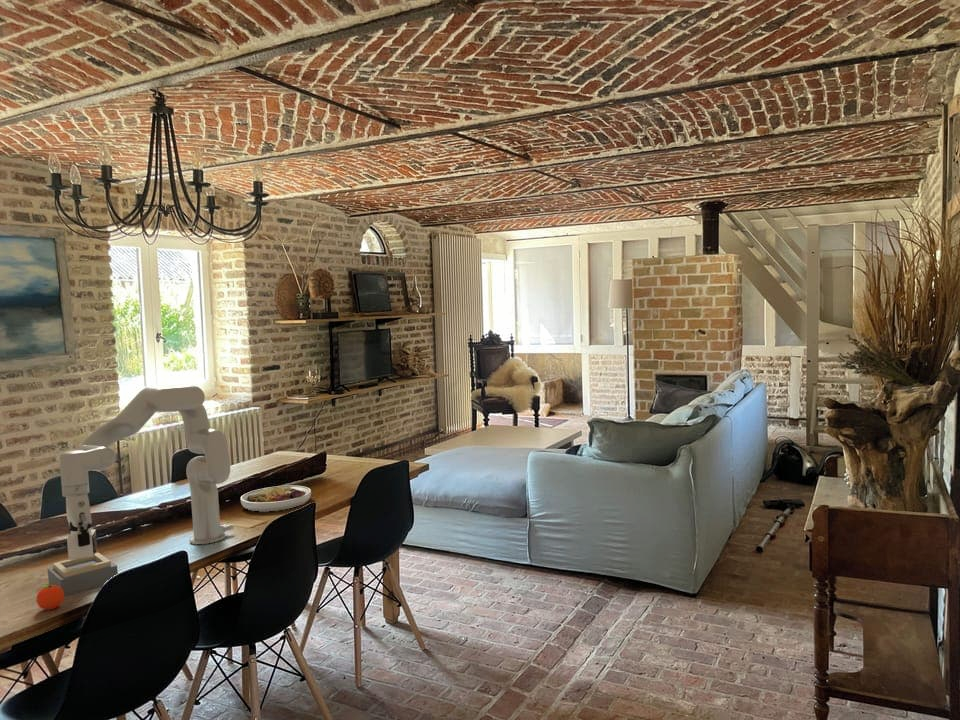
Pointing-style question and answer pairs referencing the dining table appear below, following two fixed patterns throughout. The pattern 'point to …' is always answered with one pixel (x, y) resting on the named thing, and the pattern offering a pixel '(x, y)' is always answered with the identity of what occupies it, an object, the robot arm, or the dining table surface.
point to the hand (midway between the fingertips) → (79, 542)
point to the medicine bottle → (83, 551)
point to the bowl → (275, 498)
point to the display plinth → (81, 573)
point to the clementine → (50, 597)
